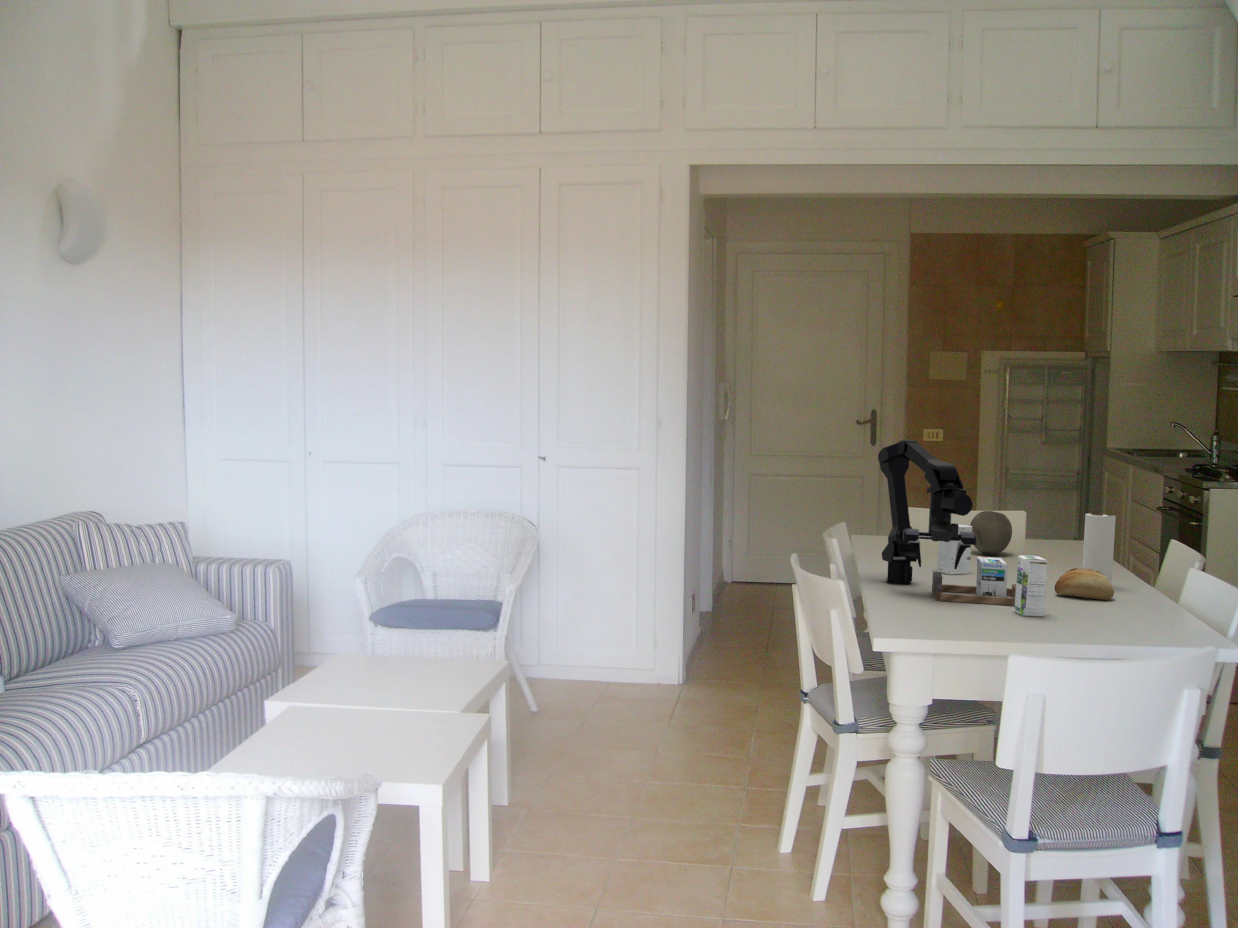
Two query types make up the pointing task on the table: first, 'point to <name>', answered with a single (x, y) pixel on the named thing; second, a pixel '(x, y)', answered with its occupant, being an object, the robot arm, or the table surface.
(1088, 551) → the paper towel roll
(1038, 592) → the syrup box
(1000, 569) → the light bulb box
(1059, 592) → the bread roll
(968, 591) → the brown rectangular frame
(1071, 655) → the table surface
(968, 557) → the skincare box
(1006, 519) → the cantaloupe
